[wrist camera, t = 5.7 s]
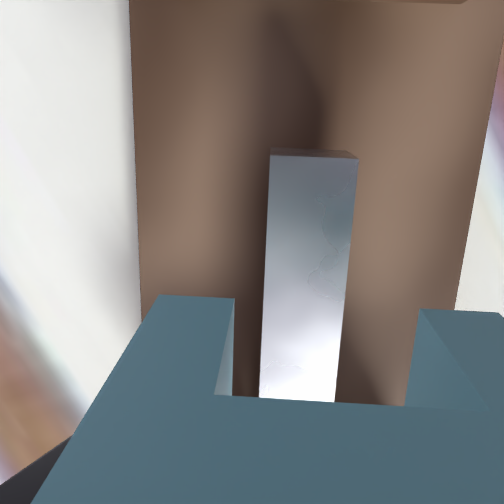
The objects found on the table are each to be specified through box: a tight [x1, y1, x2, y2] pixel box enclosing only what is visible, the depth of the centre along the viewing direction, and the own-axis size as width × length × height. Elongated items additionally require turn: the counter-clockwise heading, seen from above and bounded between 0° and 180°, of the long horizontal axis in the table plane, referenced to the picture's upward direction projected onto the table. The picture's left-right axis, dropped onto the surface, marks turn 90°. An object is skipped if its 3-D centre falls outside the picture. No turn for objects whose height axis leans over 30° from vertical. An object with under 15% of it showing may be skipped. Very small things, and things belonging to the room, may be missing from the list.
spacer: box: [31, 294, 504, 504], centre depth 7 cm, size 7×4×5 cm, turn 88°
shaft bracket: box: [129, 0, 504, 406], centre depth 16 cm, size 12×24×7 cm, turn 178°
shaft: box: [259, 147, 359, 402], centre depth 17 cm, size 4×24×4 cm, turn 178°
